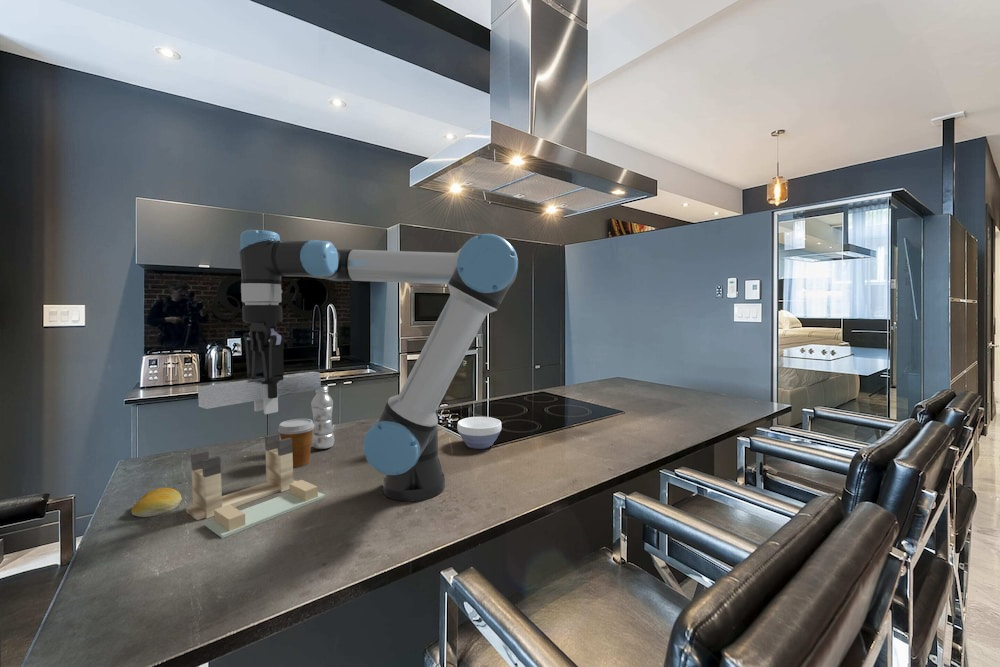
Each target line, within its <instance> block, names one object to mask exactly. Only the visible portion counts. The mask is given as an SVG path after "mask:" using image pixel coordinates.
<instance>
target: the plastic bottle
mask: <svg viewBox="0 0 1000 667" xmlns="http://www.w3.org/2000/svg"><path fill="white" fill-rule="evenodd" d="M314 392H315V393H316V394H315V396H314V397H313V399H312V400H311V403H310V406H311V412H312V417H313V418H312V419H313V420H312V421H313V424H314V428H313V432H312V441H311V444H312V446H313V448H314V449H315V450H324V449H325V450H326V449H330V448H331V447H333V446H334V444H335V435H334V430H333V420H332V419H333V408H334V400H333V398H332V397H331V395H329V385H326V384H323V385H322V384H321V389H320V390H314Z"/></svg>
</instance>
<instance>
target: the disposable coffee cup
mask: <svg viewBox="0 0 1000 667" xmlns="http://www.w3.org/2000/svg"><path fill="white" fill-rule="evenodd" d="M277 431H278V434H279V438H280V440H283V439H287V438H292V452H293V468H298V467H303V466H305V465H308V464H309V463H310V459H311V458H310V457H311V450H312V438H313V431H314V420H312V419H310V418H295V419H289V420H285V421H282V422H280V423H279V426H278V428H277Z"/></svg>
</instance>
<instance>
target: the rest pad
mask: <svg viewBox="0 0 1000 667" xmlns="http://www.w3.org/2000/svg"><path fill="white" fill-rule="evenodd" d="M289 485H290V489H289V492H288V493H285V494H282V495H279V496H277V497H274V498H270V499H269V500H265V501H263V502H260V503H257V504H254V505H252V506H249V507H246V508H243V509H241V510H240V509H238V508H237V507H233V506H232V505H230V504H229V505H226V506H224V507H221V508H218V509H215V510H214V516H213V518H214V519H213V520H211V521H207V522H205V527H206V528H207V529H209V530H210V531H212V532H213V533H215V534H216V535H218V536H219V537H220V538H221V539H224V538H227V537H229V536H232V535H234V534H237V533H239V532H242V531H244V530H246V529H249V528H252V527H254V526H257V525H259V524H262V523H264V522H267V521H269V520H272V519H274V518H276V517H279V516H282V515H285V514H287V513H289V512H292V511H294V510H295V511H296V510H297V509H299V508H302V507H304V506H306V505H309V504H311V503H314V502H317V501H319V500H322V499H325V498H326V494H325V493H322V492H319V491H318V490H319V487H318V485H315V484H313V483H311V482H308V481H306V480H303V479H299V480H296V482H293V483H290V484H289Z"/></svg>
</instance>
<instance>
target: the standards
mask: <svg viewBox="0 0 1000 667" xmlns="http://www.w3.org/2000/svg"><path fill="white" fill-rule="evenodd" d="M264 440H265V442H264V444H265V445H264V448H265V476H266V477H265V479H266V480H265V482H262V483H259V484H256V485H252V486H250V487H247V488H244V489H241V490H237V491H235V492H231V493H227V494H224V495H223V493H222V492H223V490H222V489H223V488H222V470H221V467H222V466H221V463H222V462H221V457H220V456H219V455H216V456H213V457H210V455H209V451H208V450H203V451H199V452H194V453H192V454H190V463H191V464H190V465H191V485H192V486H191V488H192V505H191V506H188V507H186V513H187V514H189V516H191V517H192V518H193V519H195V520H197V521H200V520H203V519H209V518H212V517H213V518H214V510H215V509H218V508H221V507H224V506H226V505H229V504H230V505H232V506H233V507H235V508H237V507H239V506H243V505H245V504H248V503H251V502H254V501H256V500H260V499H262V498H265V497H268V496H271V495H274V494H277V493H279V492H281V493H282V492H285V491H290V485H289V484H290V483H293V482H296V481H297V480H296V479H294V467H293V452H292V438H287V439H283V440H281V437H280V433H274V434H269V435H265V436H264Z"/></svg>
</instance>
